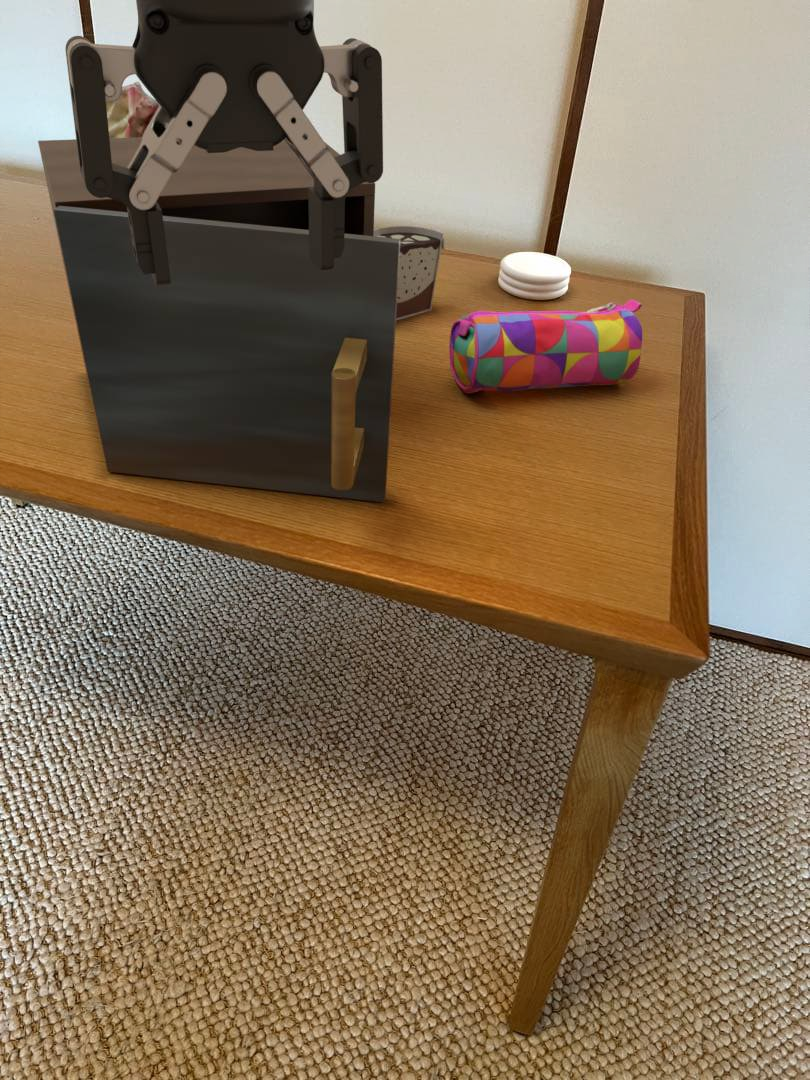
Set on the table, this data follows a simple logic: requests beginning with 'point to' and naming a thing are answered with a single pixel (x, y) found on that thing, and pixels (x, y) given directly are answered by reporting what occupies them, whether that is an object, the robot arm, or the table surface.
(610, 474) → the table surface
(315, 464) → the door
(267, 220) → the cupboard
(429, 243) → the food container
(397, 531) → the table surface
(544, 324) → the pencil case
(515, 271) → the white stacked discs
